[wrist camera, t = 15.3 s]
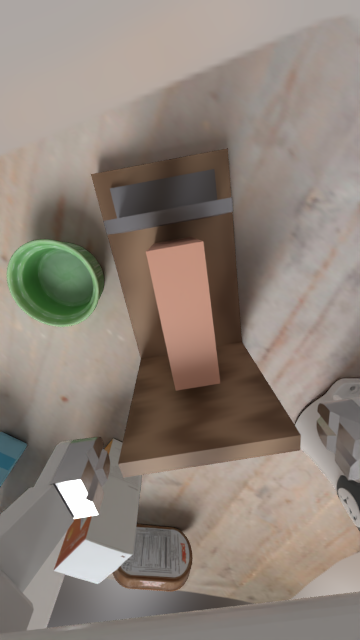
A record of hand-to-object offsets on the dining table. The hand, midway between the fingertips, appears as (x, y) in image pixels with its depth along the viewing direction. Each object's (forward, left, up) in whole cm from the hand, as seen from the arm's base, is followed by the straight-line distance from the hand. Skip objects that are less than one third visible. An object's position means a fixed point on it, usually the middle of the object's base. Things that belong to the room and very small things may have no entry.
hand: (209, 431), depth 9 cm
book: (0, 0, -19) cm, 19 cm away
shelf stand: (0, 0, -21) cm, 21 cm away
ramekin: (+13, -4, -21) cm, 25 cm away
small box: (+16, +27, -21) cm, 38 cm away
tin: (+14, +48, -21) cm, 54 cm away
